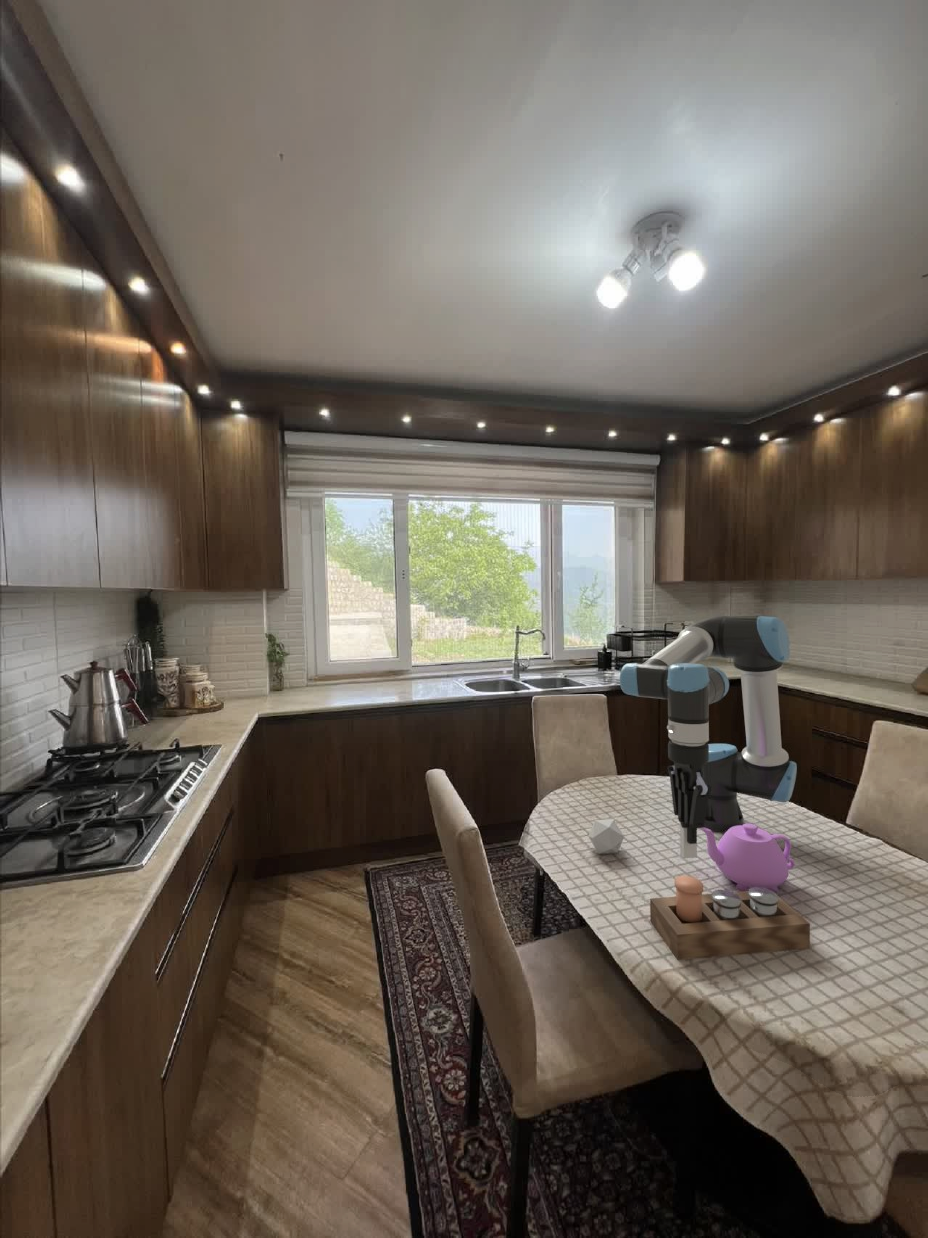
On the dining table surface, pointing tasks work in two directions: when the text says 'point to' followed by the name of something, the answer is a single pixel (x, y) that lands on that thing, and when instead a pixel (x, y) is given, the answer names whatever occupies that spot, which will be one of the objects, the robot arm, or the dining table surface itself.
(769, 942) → the wooden compartment tray
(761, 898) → the grey plug near
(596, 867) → the dining table surface
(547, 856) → the dining table surface
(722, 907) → the grey plug mid
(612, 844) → the die
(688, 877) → the peach plug
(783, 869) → the teapot
